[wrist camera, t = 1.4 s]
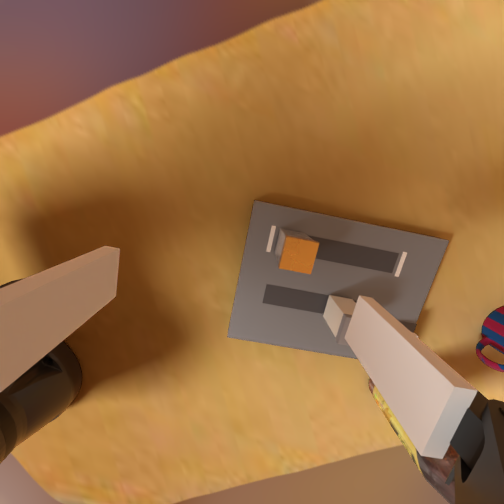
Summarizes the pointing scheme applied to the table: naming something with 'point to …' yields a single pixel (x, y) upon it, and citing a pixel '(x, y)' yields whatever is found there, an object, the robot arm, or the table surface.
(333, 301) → the slider cream
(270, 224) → the panel
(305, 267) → the block
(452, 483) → the sauce bottle
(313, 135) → the table surface
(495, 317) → the mug
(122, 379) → the table surface
